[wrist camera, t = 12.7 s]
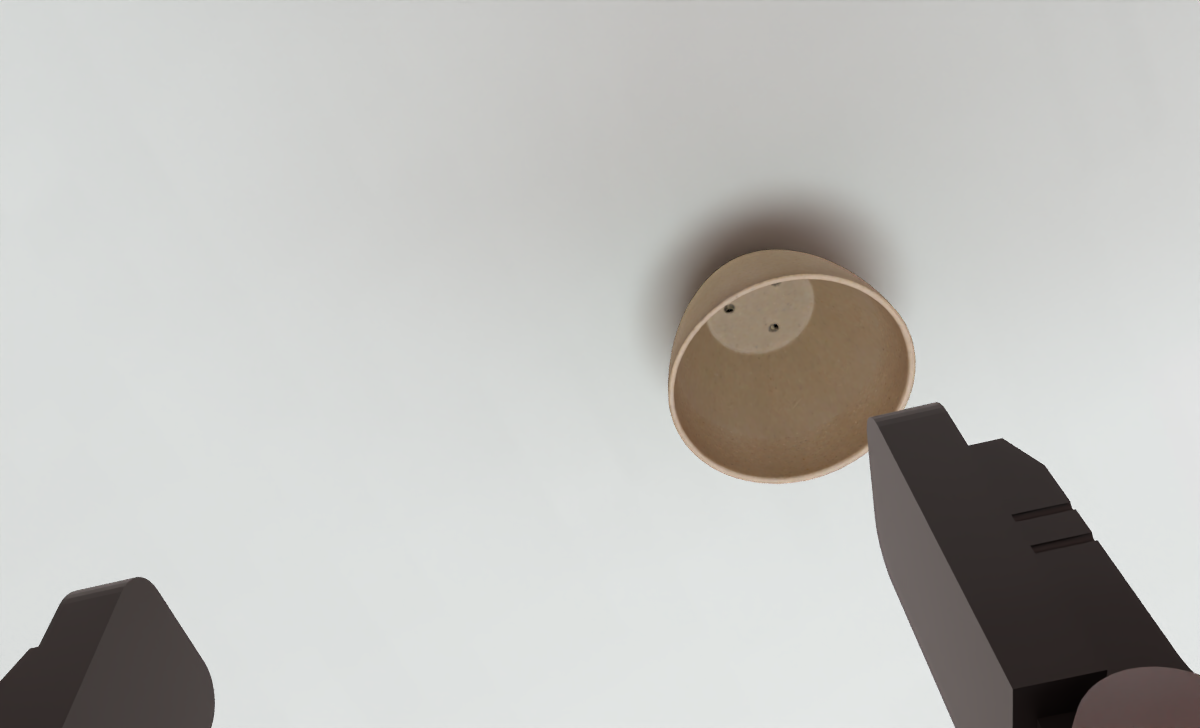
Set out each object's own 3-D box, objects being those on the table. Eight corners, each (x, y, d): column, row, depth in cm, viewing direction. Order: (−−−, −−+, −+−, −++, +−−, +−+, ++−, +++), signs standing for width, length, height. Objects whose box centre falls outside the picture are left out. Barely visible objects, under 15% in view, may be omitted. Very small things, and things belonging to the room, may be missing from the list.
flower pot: (899, 225, 46) (958, 304, 40) (816, 406, 51) (858, 500, 45) (686, 177, 44) (714, 252, 38) (622, 370, 49) (638, 464, 43)
